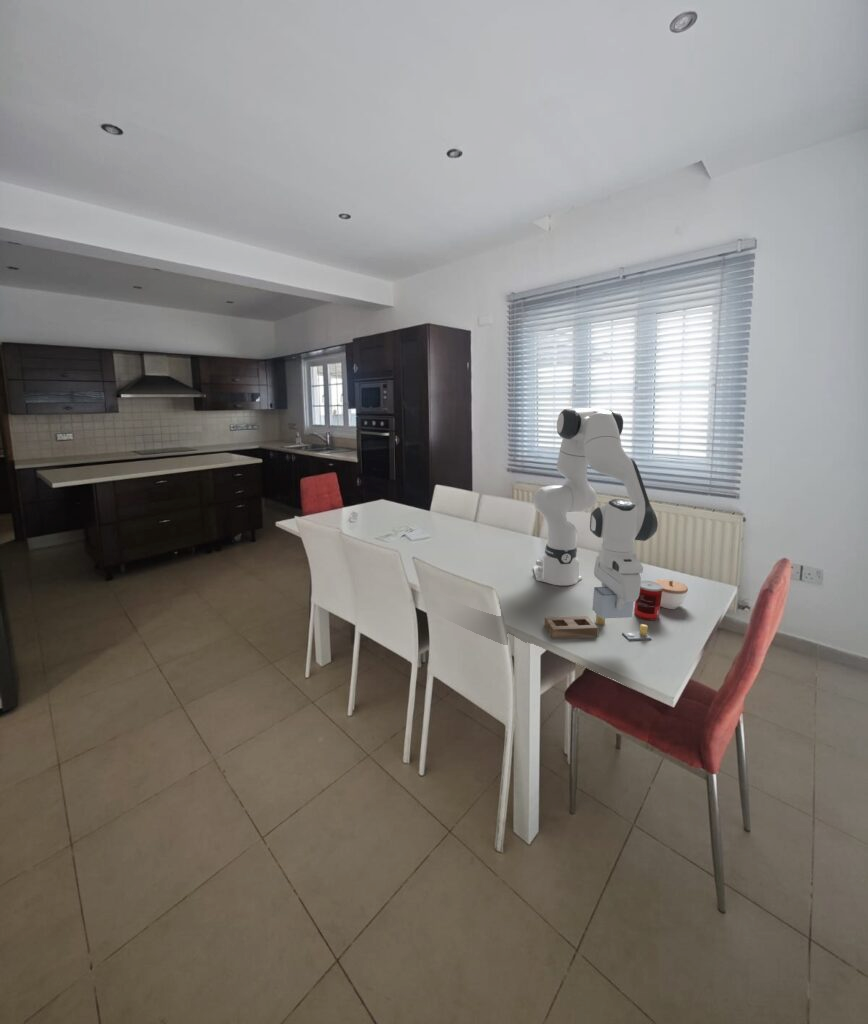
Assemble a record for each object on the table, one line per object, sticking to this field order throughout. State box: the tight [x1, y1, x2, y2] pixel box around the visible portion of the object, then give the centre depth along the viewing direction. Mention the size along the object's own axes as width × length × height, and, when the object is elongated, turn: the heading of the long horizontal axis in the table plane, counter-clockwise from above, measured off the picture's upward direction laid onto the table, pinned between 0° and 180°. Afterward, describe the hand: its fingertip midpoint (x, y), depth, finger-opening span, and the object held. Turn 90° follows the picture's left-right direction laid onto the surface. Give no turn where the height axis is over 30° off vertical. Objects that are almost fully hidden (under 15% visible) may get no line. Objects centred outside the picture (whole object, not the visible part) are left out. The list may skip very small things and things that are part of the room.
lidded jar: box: [654, 579, 689, 610], centre depth 161 cm, size 11×11×9 cm
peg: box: [595, 613, 606, 625], centre depth 148 cm, size 3×3×8 cm
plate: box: [622, 623, 652, 641], centre depth 139 cm, size 4×7×4 cm, turn 95°
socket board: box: [543, 615, 599, 640], centre depth 143 cm, size 8×14×3 cm, turn 95°
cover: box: [591, 586, 634, 619], centre depth 132 cm, size 6×9×8 cm, turn 95°
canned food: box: [633, 580, 662, 621], centre depth 153 cm, size 8×8×11 cm
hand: (612, 603), depth 132 cm, fingers closed on cover, 6 cm apart
